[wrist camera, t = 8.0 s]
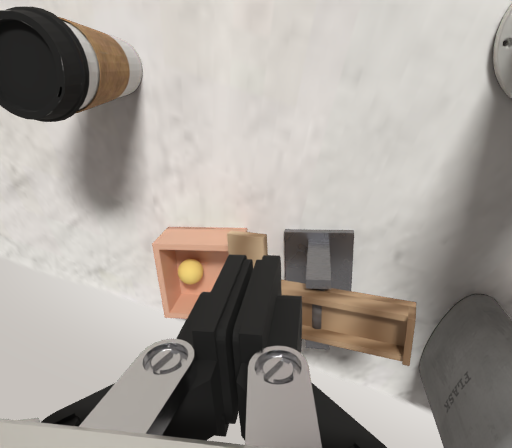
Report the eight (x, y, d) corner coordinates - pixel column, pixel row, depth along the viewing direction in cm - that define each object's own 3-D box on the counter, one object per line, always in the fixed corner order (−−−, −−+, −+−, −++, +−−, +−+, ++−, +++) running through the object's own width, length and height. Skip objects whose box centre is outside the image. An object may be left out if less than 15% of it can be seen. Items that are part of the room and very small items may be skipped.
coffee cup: (138, 121, 43) (53, 146, 29) (72, 84, 42) (-46, 91, 29) (165, 49, 39) (82, 39, 26) (93, 8, 39) (-30, -24, 25)
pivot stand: (353, 230, 44) (362, 273, 35) (349, 302, 48) (356, 358, 38) (285, 229, 45) (276, 270, 36) (287, 299, 49) (279, 352, 40)
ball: (192, 268, 44) (170, 263, 46) (195, 291, 46) (174, 286, 47) (207, 256, 47) (186, 252, 48) (209, 278, 48) (189, 274, 50)
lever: (422, 252, 32) (422, 268, 30) (410, 344, 36) (409, 366, 34) (232, 229, 39) (218, 240, 37) (238, 308, 43) (226, 324, 41)
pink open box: (246, 228, 46) (238, 245, 41) (251, 298, 50) (244, 321, 45) (168, 226, 48) (152, 243, 43) (178, 295, 51) (164, 317, 47)
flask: (458, 285, 44) (555, 437, 26) (507, 300, 44) (638, 463, 26) (406, 375, 51) (455, 548, 32) (448, 388, 50) (521, 571, 32)
